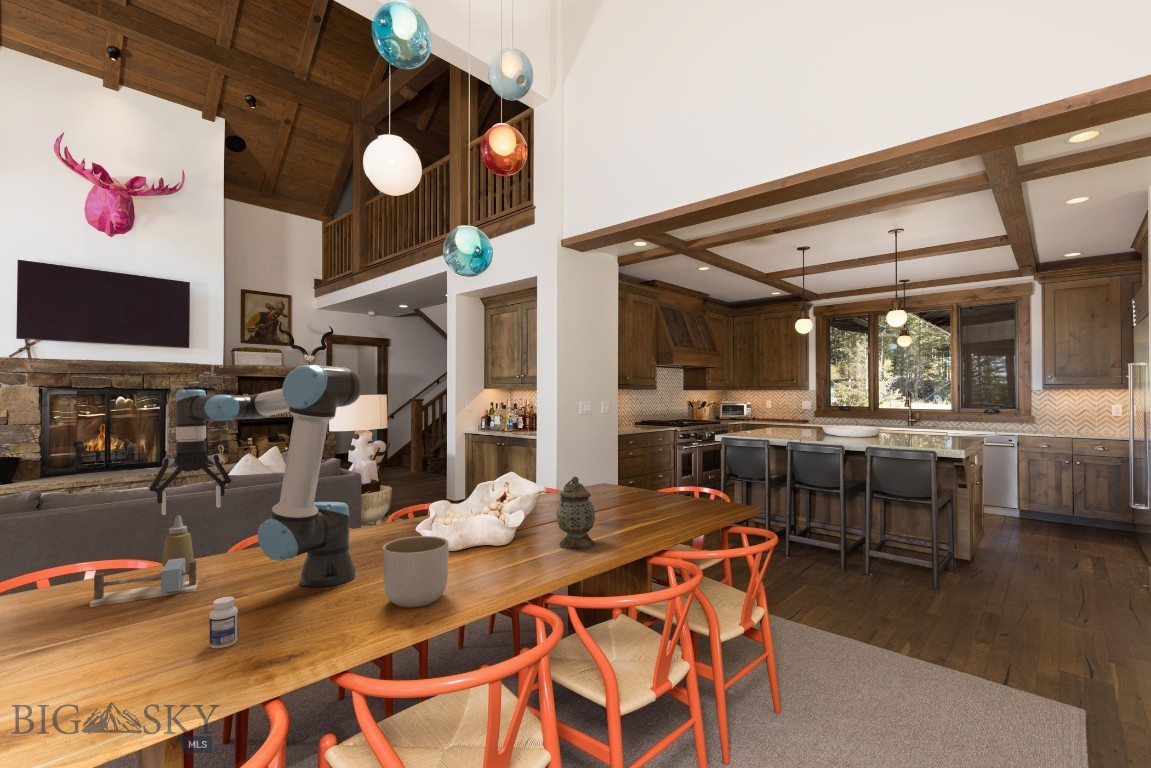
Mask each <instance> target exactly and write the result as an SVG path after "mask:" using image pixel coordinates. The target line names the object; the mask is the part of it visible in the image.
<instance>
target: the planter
mask: <svg viewBox="0 0 1151 768" xmlns="http://www.w3.org/2000/svg"><path fill="white" fill-rule="evenodd" d="M449 549H450V548H449V541H448V539H446V538H444V537H440V536H433V535H430V536H429V535H418V536H409V537H402V538H398V539H395V540H391V541H389V542H387V543H385V544H384V545H383V546H382V549H381V551H382V553H381V555H382V577H383V579H382V580H383V588H384V592H385V595H386V597H387V599H388V600H389V601H390V602H392V603H393V604H394V605H396V606H398V607H401V608H406V609H407V608H409V609H412V608H420V607H425V606H428V605H431V604H433V603H434V602H436V601H437V600H438V599H439V598H440V597H441V596H442V595H443V594H444V592H445V591H446V588H447V584H448V578H449V577H448V576H449Z"/></svg>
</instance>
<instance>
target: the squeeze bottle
mask: <svg viewBox="0 0 1151 768" xmlns="http://www.w3.org/2000/svg"><path fill="white" fill-rule="evenodd" d="M180 558H185V571H189V563H190V561H194V560H195V559H194V551H193V541H192V534H191V533H190V532H188V526H187V525H184V523H183V518H182V516H181V515H176V516H175V518H174V521H173V526H172V527H170V528H168V535H166V536H165V539H164V547H163V554H162V562H161V564H162V566H163V568H164V566H165V565H166V563H167V562H168V560H172V559H180Z"/></svg>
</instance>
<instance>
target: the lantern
mask: <svg viewBox="0 0 1151 768" xmlns="http://www.w3.org/2000/svg"><path fill="white" fill-rule="evenodd" d="M579 481H580V480H579V478H578V477H577V476H573V477H572V478H571V479H570V480H569V481H568V482H567V483H565V485H564V487H563V490H562V491H561V492H560V493H559V495H560V498H559V499H560V500H559V503H558V507H557V511H556V522H557V525H558V527H559V529H560V530H562V532H563V533H566V536H565V537H564V538H563V539H562V540H561V541H560V542H559V544H558V546H559V547H560V548H561V549H564V550H567V551H586V550H590V549H591V550H593V549H594V548H595V547H596V546H597V543H596V541H594V540H593V539H592V538H590V536H589V534H588V533H589V532H590V531H591V529H592V528H593V527H594V524H595V520H596V514H595V513H596V511H595V508H594V505H593V504H592V502H591V501H590V497H591V493H590V492H589V491H588V490H587V488H586V487H585V485H584V484H583V483H580V482H579Z"/></svg>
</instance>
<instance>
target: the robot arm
mask: <svg viewBox="0 0 1151 768" xmlns="http://www.w3.org/2000/svg"><path fill="white" fill-rule="evenodd" d="M362 390H363V385H362V380H361V378H360V376H359V375H358V374H357V373H356V372H355V371H354V370H352V369H350V368H348V367H344V366H331V365H330V366H329V365H321V364H320V365H318V364H308V365H307V364H304V365H299V366H297V367H294V368H293V370H291V371H290V372H289V373H287V376H285V379H284V381H283V383H282V388H279V389H278V388H277V389H274V390H270V391H264V392H261V393H255V394H244V395H241V394H237V395H236V394H235V395H234V394H232V395H230V394H229V395H227V394H216V395H207V394H206V391H205V390H204V389H179V390H178V391H176V393H175V403H174V406H175V440H177V442H176V443H175V458H167V457H164V458H163V459H162V465H161V467H160V469H159V470H158V472H157V474H156V476H155V477H154V479H153V480H152V482H151V484H150V486H149V488H148V490H149V491H150V492H154V493H156V503H157V504H161V515H162V516H166V515H167V500H166V499H167V496H166V495H167V494H166V493H167V492H166V491H164V490H166V489H167V488H168V486H169V485H170V484H171V483H172V482H173V480H175V479H176V478H177V477H178V475H180V474H181V472H185V473H187V472H191V471H193V472H197V471H200V470H202V471H203V472H204V473H205V474H207V475H208V476H209V477H210V478H211V479H213V481H215V482H216V483H217V484H218V485H216V486H215V499H216V500H215V506H216V508H217V509H219V508H221V502H222V501H221V499H222V498H221V497H223V496H225V486H226V485H228V484H230V483H232V479H231V478H230V476H229V474H228V473H227V470H226V469H225V468H224V466H223V464H222V463H221V462H220V456H219V455H218V454H212V455H208V454H207V441H206V440H205V439H206V438H207V421H217V422H221V421H229V420H230V421H231V420H246V419H247V420H248V419H249V420H250V419H255V420H258V419H266V418H267V419H268V418H269V417H271V416H273V415H274V416H275V415H279V414H284V413H290V414H291V416H292V417H293V421H292V428H291V433H290V438H289V444H288V445H289V446H288V449H287V451H288V452H287V457H286V461H285V469H284V473H283V480H282V481H283V482H282V485H281V492H280V498H279V502H278V503H277V504H275V505H274V506H272V508H271V514H270V518H269V519H265V521H263V522H262V523H261V524H260V525H259V527H258V530H257V542H258V546H259V548H260V550H262V553H263V554H264V555H265V556H266V557H268V558H269V559H270V560H273V561H275V562H282V561H286V560H292V559H294V558H296V557H298V556H301V555H304V554H306V558H305V560H304V563H303V566H302V567H303V568H302V571H301V572H300V576H299V577H300V584H301V586H304V587H309V588H324V587H331V586H337V585H340V584H344V583H346V582H349V581H351V580H353V579H354V578H355V577H356V566H355V565H354V563H353V558H352V556H351V552H350V511H349V510H350V509H349V505H348V504H347V503H346V502H342V501H341V502H340V501H317V502H316V501H315V498H316V492H317V488H318V487H317V486H318V482H319V481H318V480H319V476H320V471H321V464H322V458H323V453H324V446H325V441H326V435H327V430H328V425H329V424H328V423H329V421H331V420H333V419H334V418H335V417H336V412H337V408H340V407H341V408H342V407H347V406H350V405H352V404H354V403H356V401H357V400H358V399H359V398H360V396H361V394H362ZM208 460H209V461H210V462H212V463H213V464H214V465H215V467H216V469H217V470H218V472H219V474H220V476H222V478H223V480H222V479H221V478H220V477H219V476H218V475H217V474H216V473H214V472H213V471H212V470H211V469H210V468H209V467H208V466H207V465H205V464H206V463H207V462H208ZM173 463H174V464H175V465H176V466H177V467H176V468H175V469H174V470H173V471H172V473H170V475H169V476H168V477H166V479H165V480H164V481H163V482H162V483H161V484H160V485H159V483H160V481H161V480H162V478H163V477H164V475H165V473H166V471H167V470H168V467H169V466H170V467H171V465H172V464H173ZM158 485H159V486H158Z"/></svg>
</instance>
